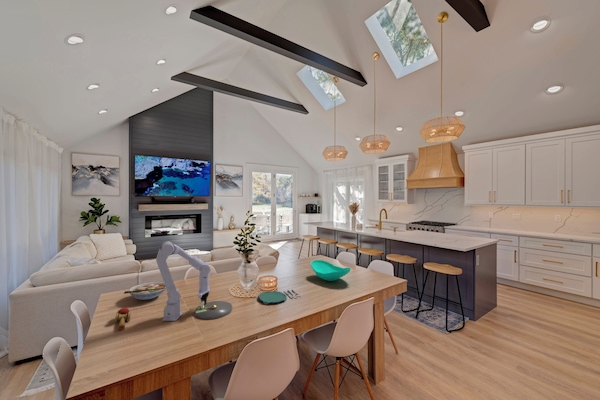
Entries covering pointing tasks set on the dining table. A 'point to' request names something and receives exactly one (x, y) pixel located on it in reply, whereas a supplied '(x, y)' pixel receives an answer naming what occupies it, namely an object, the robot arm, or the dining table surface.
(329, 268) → the table top decor
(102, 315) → the dining table surface
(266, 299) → the cutlery set
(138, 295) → the ramen bowl
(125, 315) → the kendama
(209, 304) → the tuner dial
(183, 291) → the dining table surface
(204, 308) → the brass vanity light
